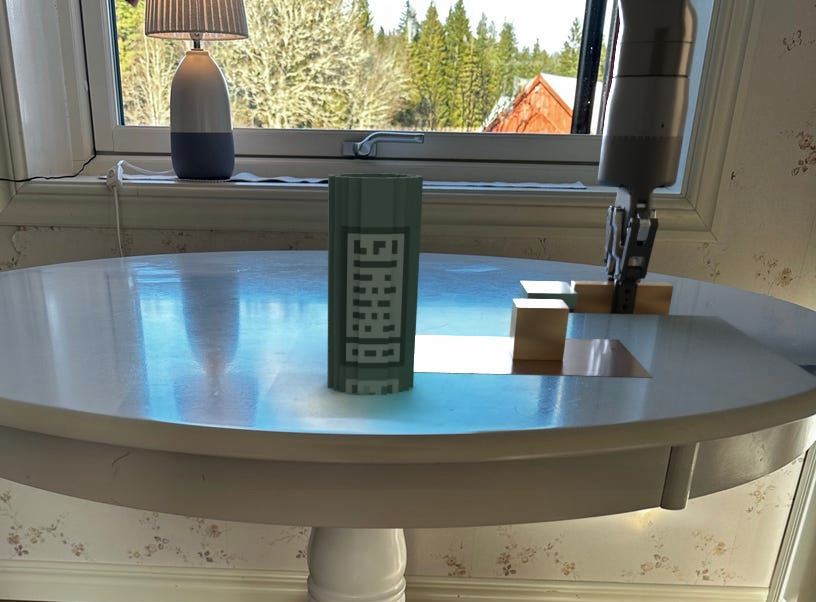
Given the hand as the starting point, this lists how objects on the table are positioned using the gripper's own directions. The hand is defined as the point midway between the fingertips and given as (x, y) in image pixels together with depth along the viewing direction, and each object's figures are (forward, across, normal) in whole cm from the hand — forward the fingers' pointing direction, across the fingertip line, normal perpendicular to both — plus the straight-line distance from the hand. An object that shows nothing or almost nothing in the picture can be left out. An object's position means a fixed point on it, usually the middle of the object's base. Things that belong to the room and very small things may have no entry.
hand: (617, 316), depth 100 cm
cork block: (-1, -26, +12) cm, 28 cm away
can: (0, -37, +24) cm, 44 cm away
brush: (0, 0, +3) cm, 3 cm away
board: (0, -26, +14) cm, 29 cm away
